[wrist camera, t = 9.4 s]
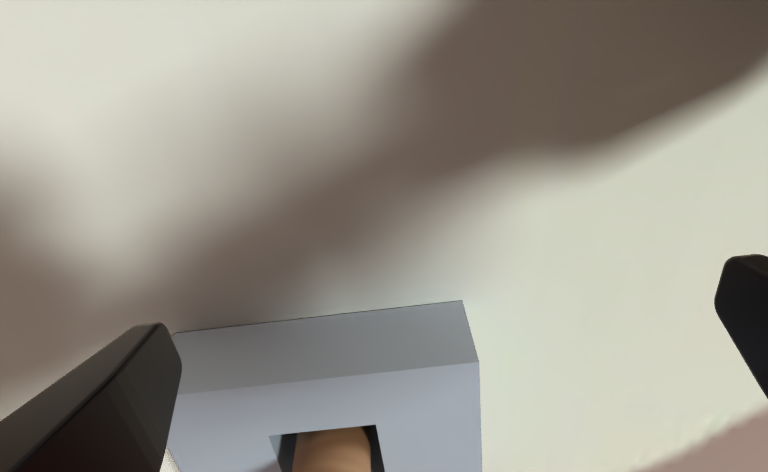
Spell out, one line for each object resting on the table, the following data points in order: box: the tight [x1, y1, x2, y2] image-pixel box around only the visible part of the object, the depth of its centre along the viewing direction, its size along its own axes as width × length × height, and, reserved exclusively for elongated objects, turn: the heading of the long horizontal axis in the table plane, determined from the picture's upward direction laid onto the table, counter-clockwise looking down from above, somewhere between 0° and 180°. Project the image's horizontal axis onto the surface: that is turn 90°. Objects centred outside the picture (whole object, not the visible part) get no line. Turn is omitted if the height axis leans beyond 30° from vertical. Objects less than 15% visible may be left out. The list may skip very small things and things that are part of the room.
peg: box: [292, 425, 371, 472], centre depth 22 cm, size 4×4×8 cm
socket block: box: [166, 301, 482, 472], centre depth 24 cm, size 14×11×4 cm
